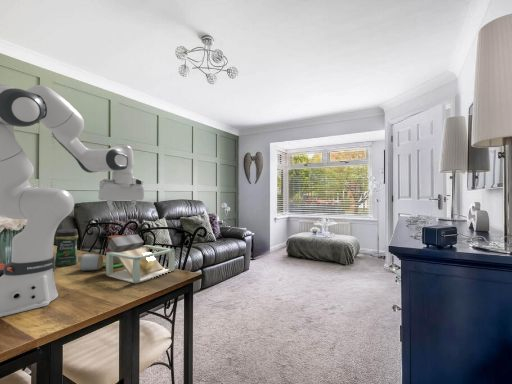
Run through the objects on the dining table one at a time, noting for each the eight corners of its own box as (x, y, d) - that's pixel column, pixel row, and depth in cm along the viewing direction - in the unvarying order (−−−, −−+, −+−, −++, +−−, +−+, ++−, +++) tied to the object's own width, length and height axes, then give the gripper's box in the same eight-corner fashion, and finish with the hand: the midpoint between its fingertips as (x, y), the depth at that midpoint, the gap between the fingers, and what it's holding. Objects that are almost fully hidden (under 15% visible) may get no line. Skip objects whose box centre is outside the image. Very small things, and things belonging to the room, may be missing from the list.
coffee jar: (53, 267, 134) (53, 230, 134) (57, 263, 141) (57, 228, 141) (76, 265, 138) (76, 229, 139) (78, 261, 145) (79, 227, 146)
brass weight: (143, 271, 121) (148, 261, 119) (137, 263, 123) (142, 253, 121) (150, 269, 124) (155, 259, 123) (145, 261, 126) (150, 252, 125)
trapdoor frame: (135, 283, 110) (135, 258, 110) (106, 275, 121) (106, 252, 121) (174, 271, 128) (174, 249, 129) (146, 265, 139) (146, 244, 139)
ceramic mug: (99, 271, 128) (99, 255, 128) (79, 272, 126) (79, 256, 126) (105, 266, 138) (105, 251, 138) (87, 267, 136) (87, 251, 136)
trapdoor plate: (130, 281, 116) (135, 273, 114) (105, 246, 126) (109, 238, 124) (160, 272, 130) (164, 265, 128) (135, 241, 140) (139, 234, 138)
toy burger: (95, 266, 136) (96, 237, 136) (118, 261, 147) (119, 234, 147) (110, 269, 130) (110, 239, 130) (133, 264, 141) (133, 235, 142)
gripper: (104, 178, 113) (103, 211, 112) (146, 181, 130) (145, 210, 130) (95, 179, 116) (95, 210, 116) (138, 182, 134) (137, 209, 133)
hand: (122, 210), depth 123 cm, fingers open, 8 cm apart
